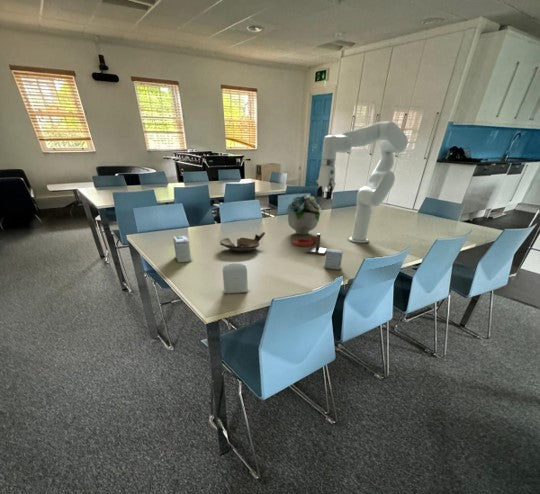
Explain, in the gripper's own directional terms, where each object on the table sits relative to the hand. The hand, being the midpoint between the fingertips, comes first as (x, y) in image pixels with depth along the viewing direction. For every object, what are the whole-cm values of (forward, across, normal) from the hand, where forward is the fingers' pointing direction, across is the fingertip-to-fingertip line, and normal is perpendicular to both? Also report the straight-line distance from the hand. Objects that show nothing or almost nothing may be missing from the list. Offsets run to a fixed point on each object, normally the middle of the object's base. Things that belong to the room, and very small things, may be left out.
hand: (323, 197), depth 180 cm
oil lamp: (+28, +9, +46) cm, 55 cm away
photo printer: (+28, -48, +73) cm, 92 cm away
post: (+27, -11, +8) cm, 30 cm away
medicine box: (+28, -38, +16) cm, 50 cm away
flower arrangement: (+27, +31, -7) cm, 42 cm away
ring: (+27, +6, +5) cm, 28 cm away
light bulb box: (+29, +4, +84) cm, 89 cm away
